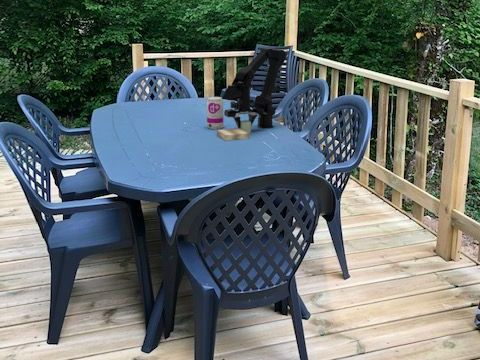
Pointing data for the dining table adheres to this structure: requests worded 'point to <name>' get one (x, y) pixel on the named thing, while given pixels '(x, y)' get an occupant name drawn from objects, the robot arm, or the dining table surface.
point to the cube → (245, 125)
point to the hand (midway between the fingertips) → (244, 129)
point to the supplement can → (215, 113)
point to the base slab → (233, 134)
